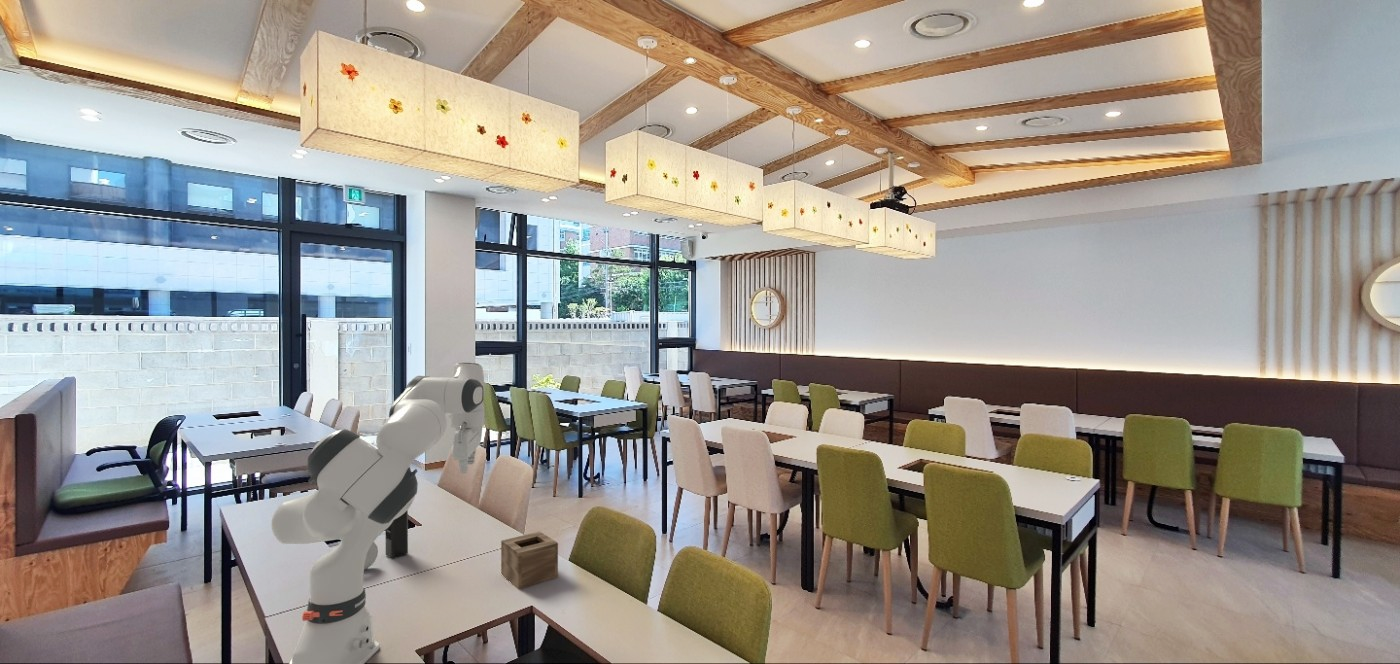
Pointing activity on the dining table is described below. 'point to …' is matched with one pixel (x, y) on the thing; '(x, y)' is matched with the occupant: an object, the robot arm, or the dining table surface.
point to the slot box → (529, 559)
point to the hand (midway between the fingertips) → (467, 468)
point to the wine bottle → (397, 537)
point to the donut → (371, 556)
